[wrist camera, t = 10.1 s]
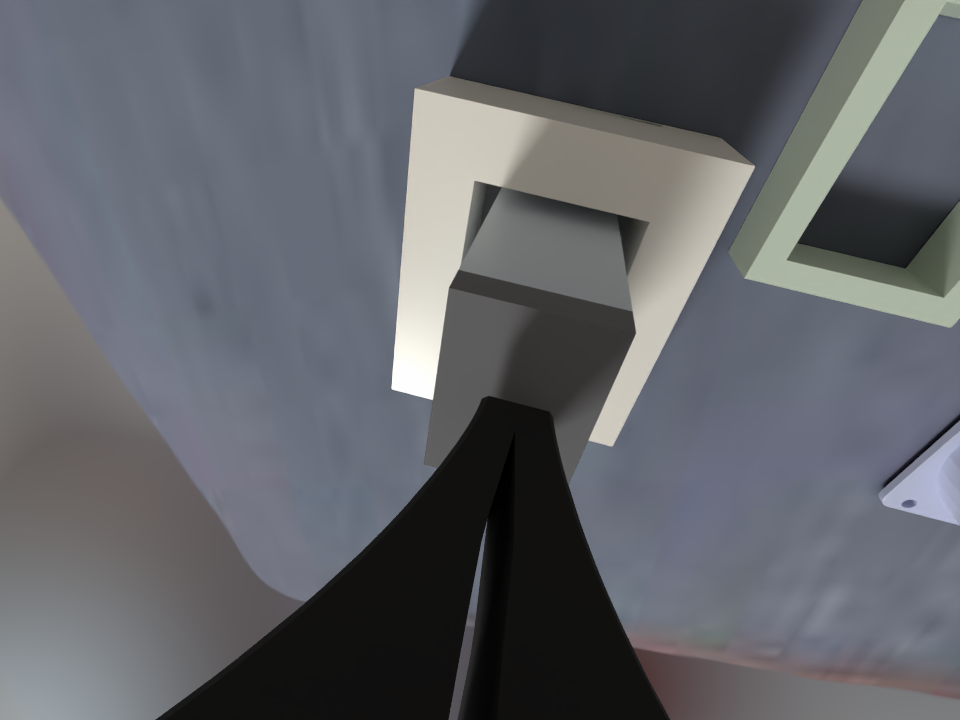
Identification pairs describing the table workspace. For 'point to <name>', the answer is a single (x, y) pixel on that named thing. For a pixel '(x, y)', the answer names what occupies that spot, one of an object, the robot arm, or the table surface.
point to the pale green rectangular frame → (820, 159)
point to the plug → (534, 321)
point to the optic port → (565, 177)
